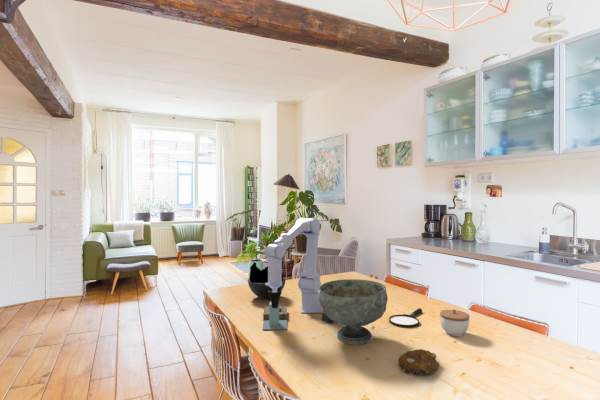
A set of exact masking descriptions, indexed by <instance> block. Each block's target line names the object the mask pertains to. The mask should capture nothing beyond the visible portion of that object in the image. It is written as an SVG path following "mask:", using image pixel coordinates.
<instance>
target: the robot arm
mask: <svg viewBox="0 0 600 400" xmlns="http://www.w3.org/2000/svg"><path fill="white" fill-rule="evenodd" d="M320 229H321V223H320V220H319V219H318V218H316V217H313V218H312V217H299V218H298V219H297V220H296V221H295V224H294V225H293V226H292V228H291V229H290V230H288V232H287V233H282V234H280V235H279V237H278V238H277V239H276V240H274V242H273V243H269V244H268V245H267V246H266V248H265V251H264V255H265V257H266V262H267V266H268V283H265V285H266V286H269V289H270V291H268V294H269V296H270V298H269V299H270V302H271V304H272V308H278V303H279V304H280V298H281V295H282V291H283V290H282V291H280V289H281V287H282V273H283V272H282V271H283V269H282V266H283V265H282V263H283V260H282V259H283V257H284V256H285V253H286V251H287V250H288V248H289V247H290V246H292V244H293V242H294V239H295V238H296V237H297V236H299V234H301V233H302V234H303V235H304V236H305V237H306V249H305V260H304V270H303V271H302V272H301V273H299V279H298V282H297V286H298V289H300V292H301V306H300V312H301V313H302V314H309V313H311V314H313V313H314V314H315V313H316V314H317V313H323V309H322V307H321V304H320V301H319V295H320V290H319V287H320V286H321V285H322V283H321V275H320V274H319V273H318V272H317V259H318V248H319V247H318V246H319V245H318V244H319V236H320V231H321V230H320Z"/></svg>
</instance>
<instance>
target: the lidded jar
mask: <svg viewBox="0 0 600 400" xmlns="http://www.w3.org/2000/svg"><path fill="white" fill-rule="evenodd" d="M439 319H440V325H441V327H442V328H443V331H445V332H446V334H447V335H449V336H452V337H462V336H463V335H465V333H466V332H467V331H468V329H469V325H470V314H468V313H467V312H466V311H465V312H464V311H463V310H457V309H442V310H441V311H440V312H439Z"/></svg>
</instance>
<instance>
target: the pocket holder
mask: <svg viewBox="0 0 600 400" xmlns="http://www.w3.org/2000/svg"><path fill="white" fill-rule="evenodd" d="M262 319H263V320H262V321H264V320H269V306H264V309H263V317H262ZM279 320H287V321H288V306H279Z"/></svg>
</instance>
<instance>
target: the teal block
mask: <svg viewBox="0 0 600 400" xmlns="http://www.w3.org/2000/svg"><path fill="white" fill-rule="evenodd" d="M268 307H269V326H279V307H280V302H279V303H278V308H272V304H271V301H269V304H268Z"/></svg>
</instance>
